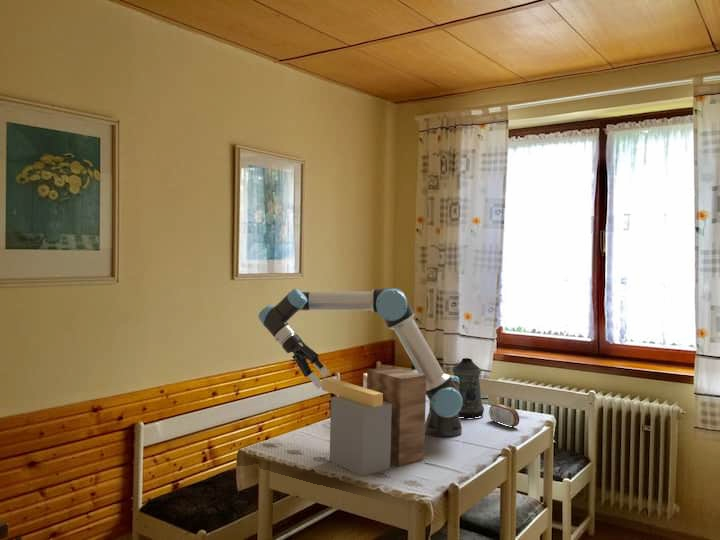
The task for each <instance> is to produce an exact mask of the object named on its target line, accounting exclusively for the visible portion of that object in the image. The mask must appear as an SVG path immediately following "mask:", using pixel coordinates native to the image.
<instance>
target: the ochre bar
mask: <svg viewBox="0 0 720 540" xmlns="http://www.w3.org/2000/svg"><path fill="white" fill-rule="evenodd" d="M321 382H322V387H321V391H324V392H327V393H330V394H333V395H336V396H342V397H345V398H348V399H351V400H353V401H356V402H359V403H362V404H365V405H368V406H371V407H377V406H382V405H383V393H380V392H376V391H373V390H370V389H367V388H363V386H360V385H356V384H353V383H349V382H347V381H344V380H340V379H336V378H333V377H328V378H327V377H325V378H322V379H321Z"/></svg>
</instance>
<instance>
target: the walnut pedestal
mask: <svg viewBox="0 0 720 540" xmlns="http://www.w3.org/2000/svg"><path fill="white" fill-rule="evenodd" d="M366 371H367V372H366V373H367V389H370V390H373V391H376V392H380V393H383V401H384V402H388V403H391V404H392V416H391V450H390V464H392V465H394V466H395V467H396V466H397V467H402V466H405V465H409V464H412V463H417V462H420V461H424V460H425V438H426V437H425V433H426V432H425V422H426V401H427V400H426V399H427V395H426V375H424V374H420V373H416V372H412V371H408V370H407V369H403V368H400V367H396V366H387V367H386V366H385V367H378V368H370V369H367V370H366Z"/></svg>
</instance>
